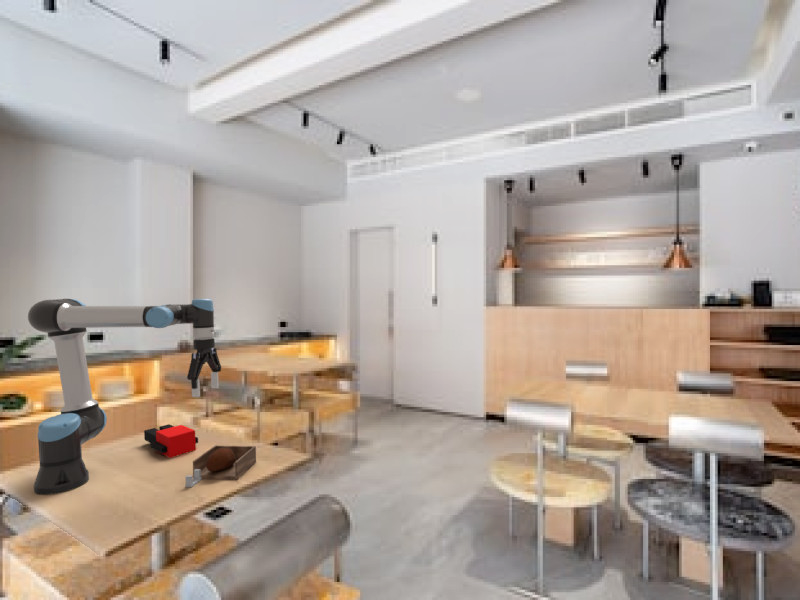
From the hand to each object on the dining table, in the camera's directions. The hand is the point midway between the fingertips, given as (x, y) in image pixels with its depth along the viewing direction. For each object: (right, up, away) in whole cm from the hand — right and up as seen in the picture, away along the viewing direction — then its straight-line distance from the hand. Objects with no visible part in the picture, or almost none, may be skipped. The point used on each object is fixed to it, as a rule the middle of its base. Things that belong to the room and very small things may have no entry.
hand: (205, 392), depth 171 cm
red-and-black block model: (-22, -27, +15) cm, 38 cm away
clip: (+4, -27, -20) cm, 34 cm away
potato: (+11, -26, -12) cm, 30 cm away
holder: (+12, -27, -9) cm, 31 cm away
